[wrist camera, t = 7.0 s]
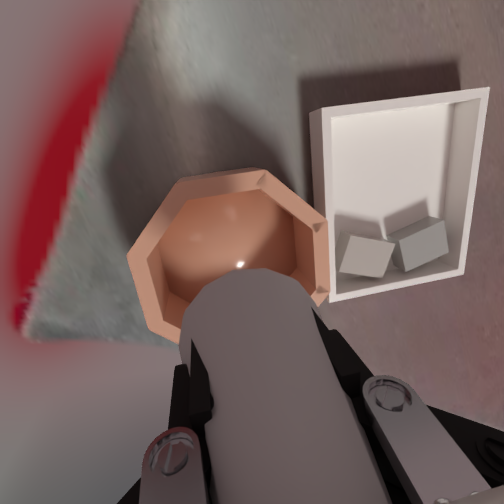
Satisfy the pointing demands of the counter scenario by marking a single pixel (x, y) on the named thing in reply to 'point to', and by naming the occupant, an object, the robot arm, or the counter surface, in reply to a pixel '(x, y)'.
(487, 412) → the counter surface
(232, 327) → the salt shaker
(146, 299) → the bowl
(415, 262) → the grey rectangular block
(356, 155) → the tray
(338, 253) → the beige rectangular block
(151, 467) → the robot arm
